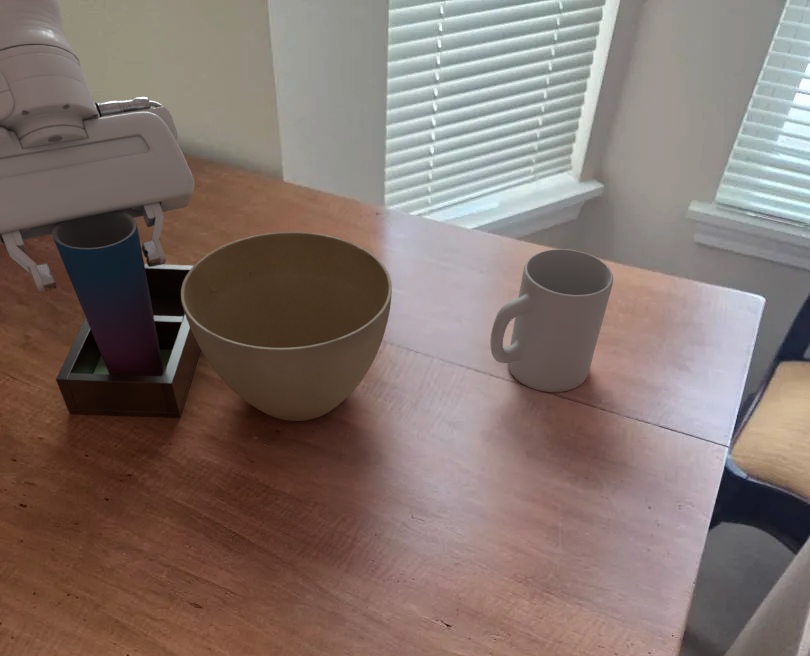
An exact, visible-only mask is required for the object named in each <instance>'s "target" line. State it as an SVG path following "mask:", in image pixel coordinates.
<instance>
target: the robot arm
mask: <svg viewBox="0 0 810 656" xmlns="http://www.w3.org/2000/svg"><path fill="white" fill-rule="evenodd" d="M63 19H64V18H63V13H62V9H61V7H60V4H59V0H0V246H3V245H5V248H6V251H7V253H8V255H9V257H10V258H11V259H12V260H13V261H14V262H16V263H17V264H18V265H19V266H20V267H21V268H22V269H24V270H25V271H26V272H28V273H29V274H31V276H32V280H33V282H34V285H35V286H36V288H37V291H38V293H43V292H48V291H51V290H56V289H57V284H56V282H55V279H54V276H53V275H52V271H51V269H50V265H49V263H48V262H46V263H41V264H37V262H36V261H34V260H33V259H32V258H31V257H29V256H28V255H27V254H26V253H27V249H26V244H25V242H24V241H27V240H32V239H36V238H42V237H47V236H52V229H53V227H54V225H55V224H56V223H57V222H62V221H67V220H72V219H77V218H82V217H87V216H92V215H97V214H102V213H107V212H112V211H117V210H120V211H123V212H125V213H128V214H129V215H131V216H132V217H133V218H134V219H135V218H140V217H143V220H144V223H145V225H146V227H147V228H151V227H153V229H152V235H151V240H147V241H142V244H141V250H142V255H143V256H144V257H145V259H146V260H145V261H146V264H147V265H148V267H153V266H157V265H162V264H166V262H167V258H166V254H165V251H164V248H163V246H162V243H161V237H162V231H163V225H164V220H165V215H164V213H165V212H168V211H175V210H179V209H184V208H186V207H188V206H189V204H190V202H191V200H192V199H193V195H194V192H195V185H196V184H195V183H196V182H195V179H194V175H193V174H192V171H191V169H190V166H189V164H188V162H187V160H186V157H185V155H184V153H183V151H182V149H181V147H180V145H179V143H178V129H177V127H176V124H175V122H174V119H173V116H172V114H171V112H170V110H169V109H168V108H167V107H166V106H165V105H163V104H161V103H159V102H158V101H153V100H149V98H148V97H146V96H137V97H132V99H127V100H126V99H123V100H109V101H101V102H95V99H94V96H93V93H92V90H91V88H90V85H89V82H88V80H87V77H86V74H85V71H84V69H83V66H82V63H81V61H80V58H79V57H78V55H77V53H76V51H75V50H74V48H73V47H72V46H71V44H70V42H69V41H68V39H67V36H66V35H65V34H66V33H65V31H64V20H63Z"/></svg>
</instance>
